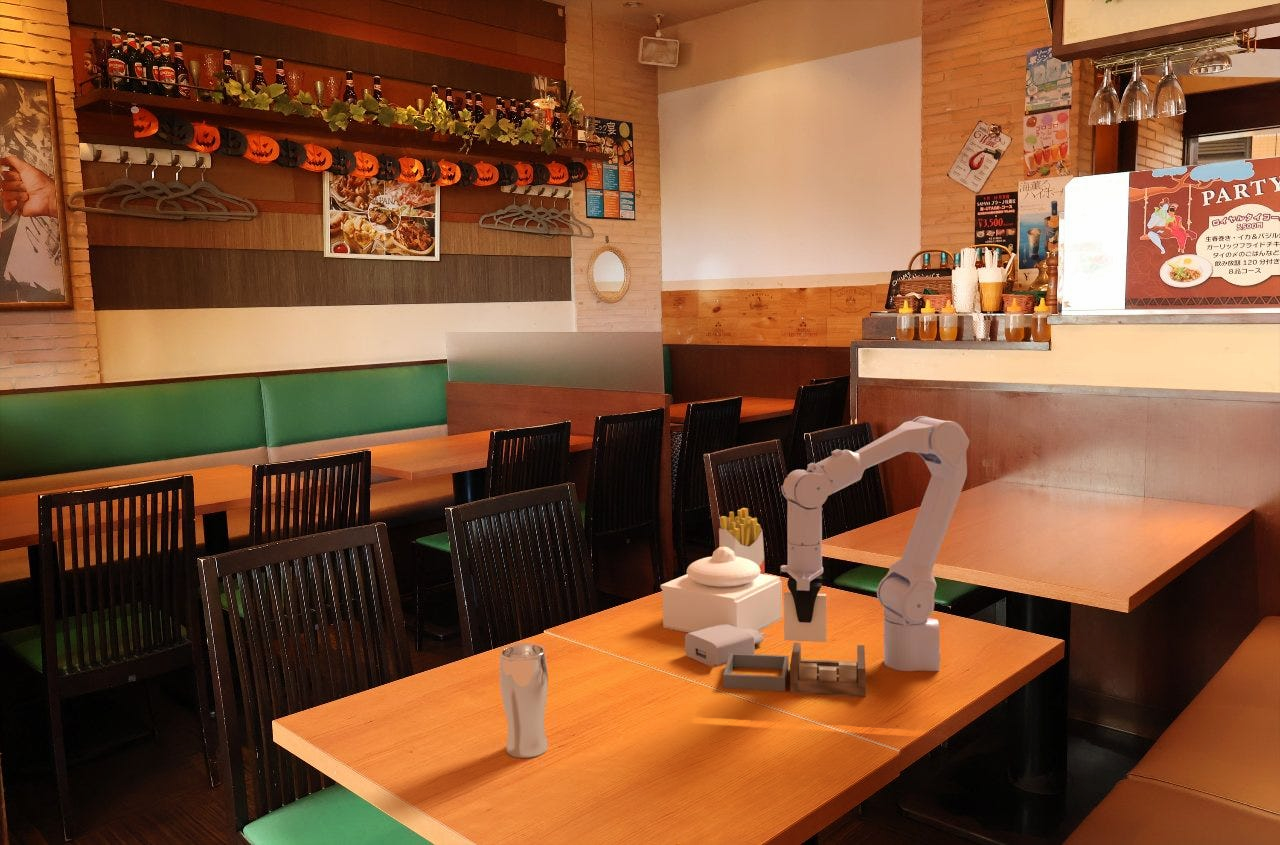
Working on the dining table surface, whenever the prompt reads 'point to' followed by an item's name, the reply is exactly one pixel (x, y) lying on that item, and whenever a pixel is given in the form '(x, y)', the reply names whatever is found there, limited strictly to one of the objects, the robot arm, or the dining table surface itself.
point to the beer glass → (524, 698)
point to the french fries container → (743, 537)
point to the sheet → (802, 629)
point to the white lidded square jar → (722, 595)
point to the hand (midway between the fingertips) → (805, 620)
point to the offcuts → (829, 672)
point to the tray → (756, 680)
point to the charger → (720, 643)
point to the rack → (827, 686)
